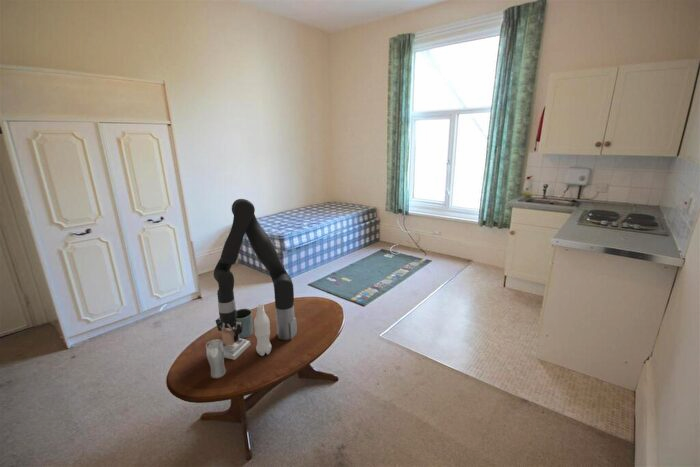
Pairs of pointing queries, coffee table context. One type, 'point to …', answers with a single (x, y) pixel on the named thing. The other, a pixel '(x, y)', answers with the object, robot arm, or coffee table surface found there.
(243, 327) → the teal cup
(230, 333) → the terracotta block
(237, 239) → the robot arm
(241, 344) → the grey stand
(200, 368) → the coffee table surface
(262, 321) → the water bottle
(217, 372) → the beer glass
